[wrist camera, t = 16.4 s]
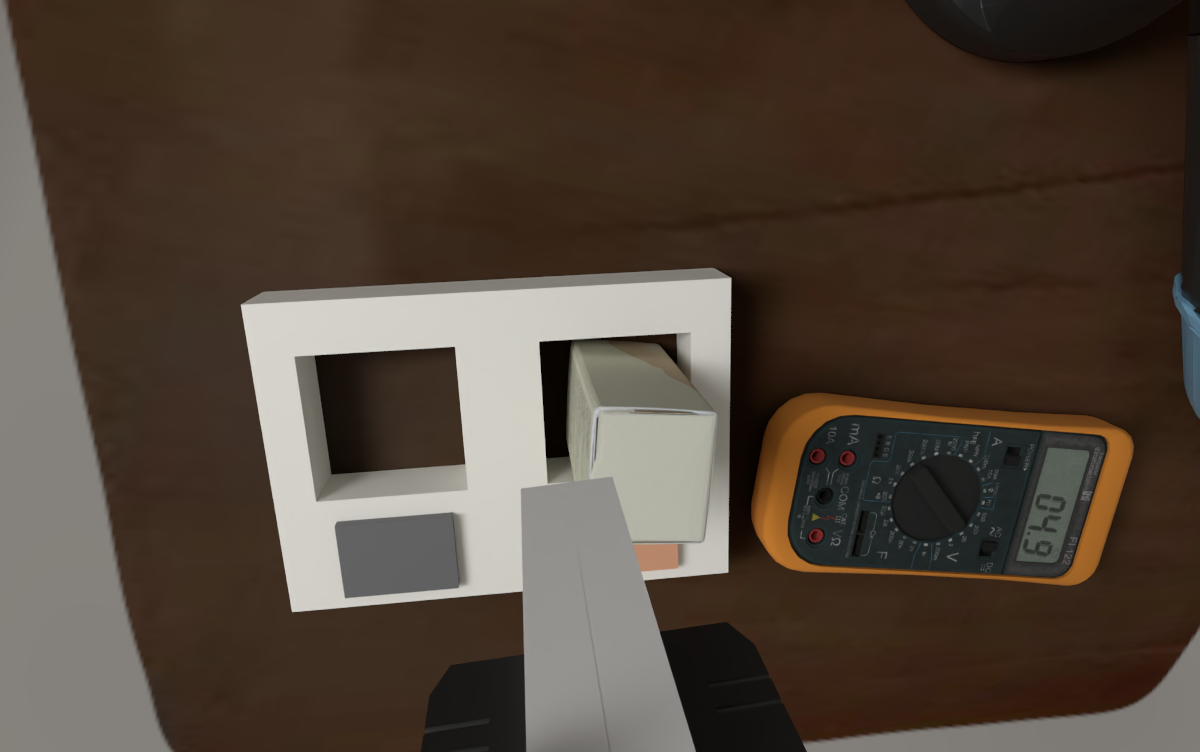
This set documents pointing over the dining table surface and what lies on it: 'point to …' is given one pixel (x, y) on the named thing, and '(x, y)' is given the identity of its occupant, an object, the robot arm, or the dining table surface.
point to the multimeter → (937, 490)
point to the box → (642, 437)
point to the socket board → (489, 421)
